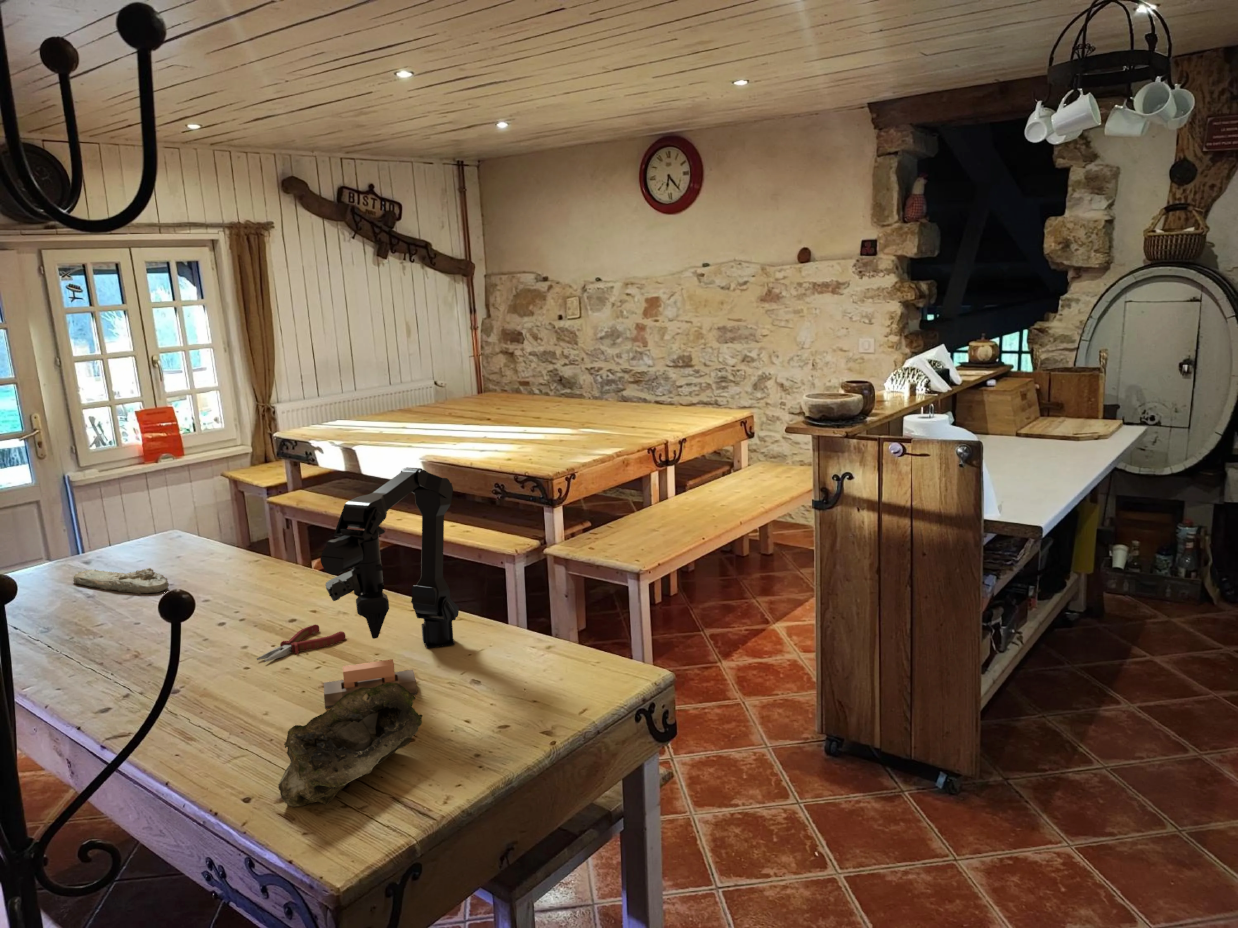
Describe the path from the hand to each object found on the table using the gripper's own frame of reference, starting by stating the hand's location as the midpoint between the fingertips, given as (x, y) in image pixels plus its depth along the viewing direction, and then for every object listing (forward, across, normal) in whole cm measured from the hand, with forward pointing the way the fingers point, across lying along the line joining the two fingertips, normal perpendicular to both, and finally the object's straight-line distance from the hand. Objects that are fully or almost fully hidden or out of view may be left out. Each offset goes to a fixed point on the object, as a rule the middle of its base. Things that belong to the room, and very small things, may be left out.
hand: (373, 630), depth 190 cm
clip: (+11, +7, -2) cm, 13 cm away
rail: (+11, +7, -2) cm, 13 cm away
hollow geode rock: (+11, +39, -6) cm, 41 cm away
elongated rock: (+13, -97, -65) cm, 118 cm away
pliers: (+12, -28, -16) cm, 35 cm away
